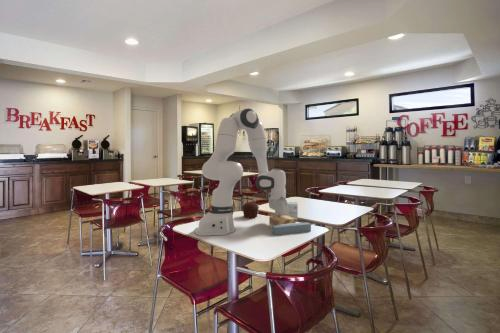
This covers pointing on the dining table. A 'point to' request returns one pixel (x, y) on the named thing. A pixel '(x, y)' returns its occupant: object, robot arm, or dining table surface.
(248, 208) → the muffin
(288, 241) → the dining table surface
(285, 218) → the oak block
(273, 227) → the blue-grey bar
